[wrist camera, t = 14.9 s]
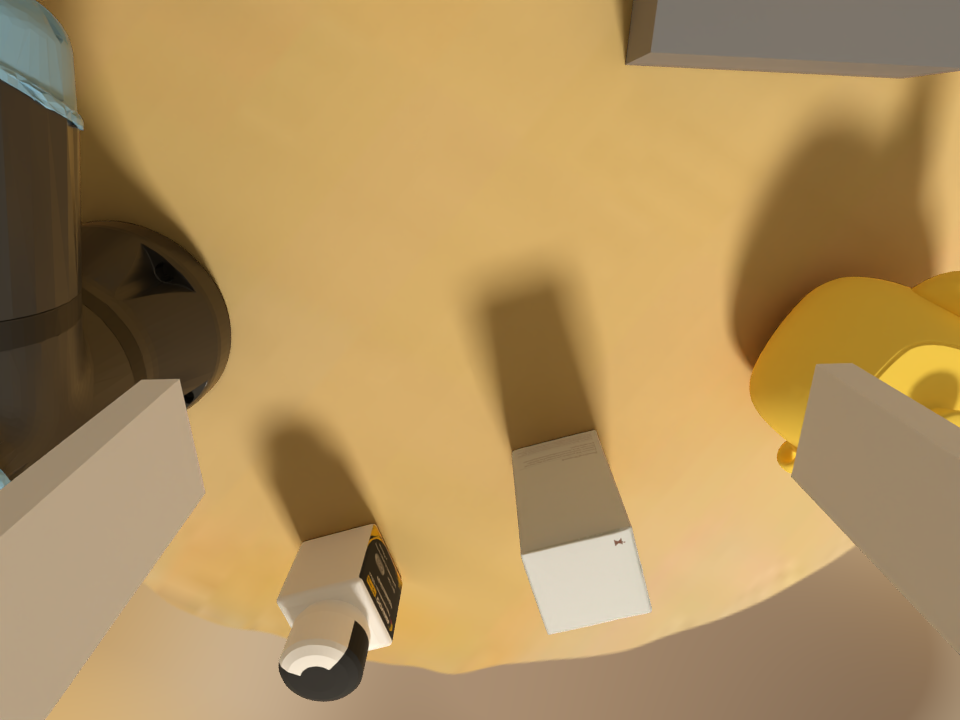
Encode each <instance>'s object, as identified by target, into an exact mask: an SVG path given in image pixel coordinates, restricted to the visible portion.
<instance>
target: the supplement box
mask: <svg viewBox="0 0 960 720" xmlns="http://www.w3.org/2000/svg"><path fill="white" fill-rule="evenodd" d="M512 463H513V474H514V485H515V495H516V505H517V516H518V527H519V538H520V548H521V558H522V561H523V564H524V567H525V570H526V573H527V576H528V579H529V582H530V585H531V588H532V591H533V594H534V597H535V600H536V603H537V605H538V608H539V611H540V614H541V617H542V620H543V622H544V625H545V628H546V630H547V633H548V634H549V635H550V634H555V633H559V632H564V631H569V630H573V629H578V628H582V627H587V626H591V625H596V624H600V623H604V622H609V621H613V620H617V619H622V618H626V617H631V616H636V615H641V614H646V613H651V611H652V607H651V603H650V599H649V595H648V591H647V587H646V583H645V579H644V575H643V570H642V565H641V563H640V559H639V555H638V551H637V547H636V543H635V539H634V534H633V530H632V526H631V524H630V521H629V518H628V516H627V513H626V510H625V507H624V505H623V502H622V499H621V497H620V494H619V491H618V488H617V486H616V483H615V480H614V478H613V475H612V472H611V470H610V467H609V464H608V461H607V459H606V456H605V454H604V451H603V448H602V445H601V442H600V440H599V437H598V434H597V431H596V430H592V431H587V432H583V433H579V434H575V435H571V436H568V437H563V438H559V439H556V440H551V441H547V442H544V443H540V444H536V445H532V446H528V447H524V448H520V449H517V450H514V451H512Z"/></svg>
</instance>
